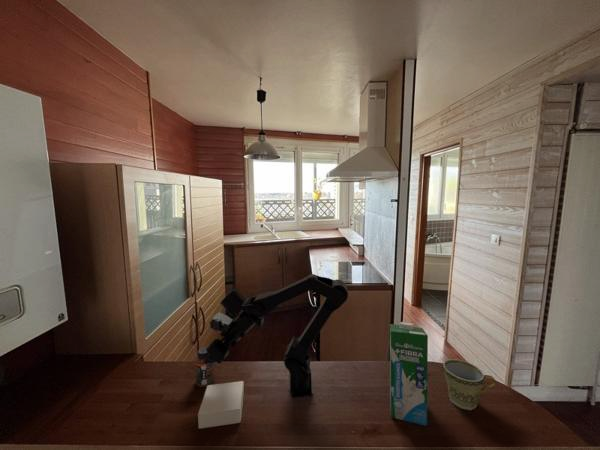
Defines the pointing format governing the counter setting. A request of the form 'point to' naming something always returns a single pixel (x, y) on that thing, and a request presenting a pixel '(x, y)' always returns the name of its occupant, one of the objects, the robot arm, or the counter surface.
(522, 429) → the counter surface
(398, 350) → the milk carton
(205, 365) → the supplement bottle
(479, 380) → the ceramic cup
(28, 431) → the counter surface
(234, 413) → the plinth
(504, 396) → the counter surface
